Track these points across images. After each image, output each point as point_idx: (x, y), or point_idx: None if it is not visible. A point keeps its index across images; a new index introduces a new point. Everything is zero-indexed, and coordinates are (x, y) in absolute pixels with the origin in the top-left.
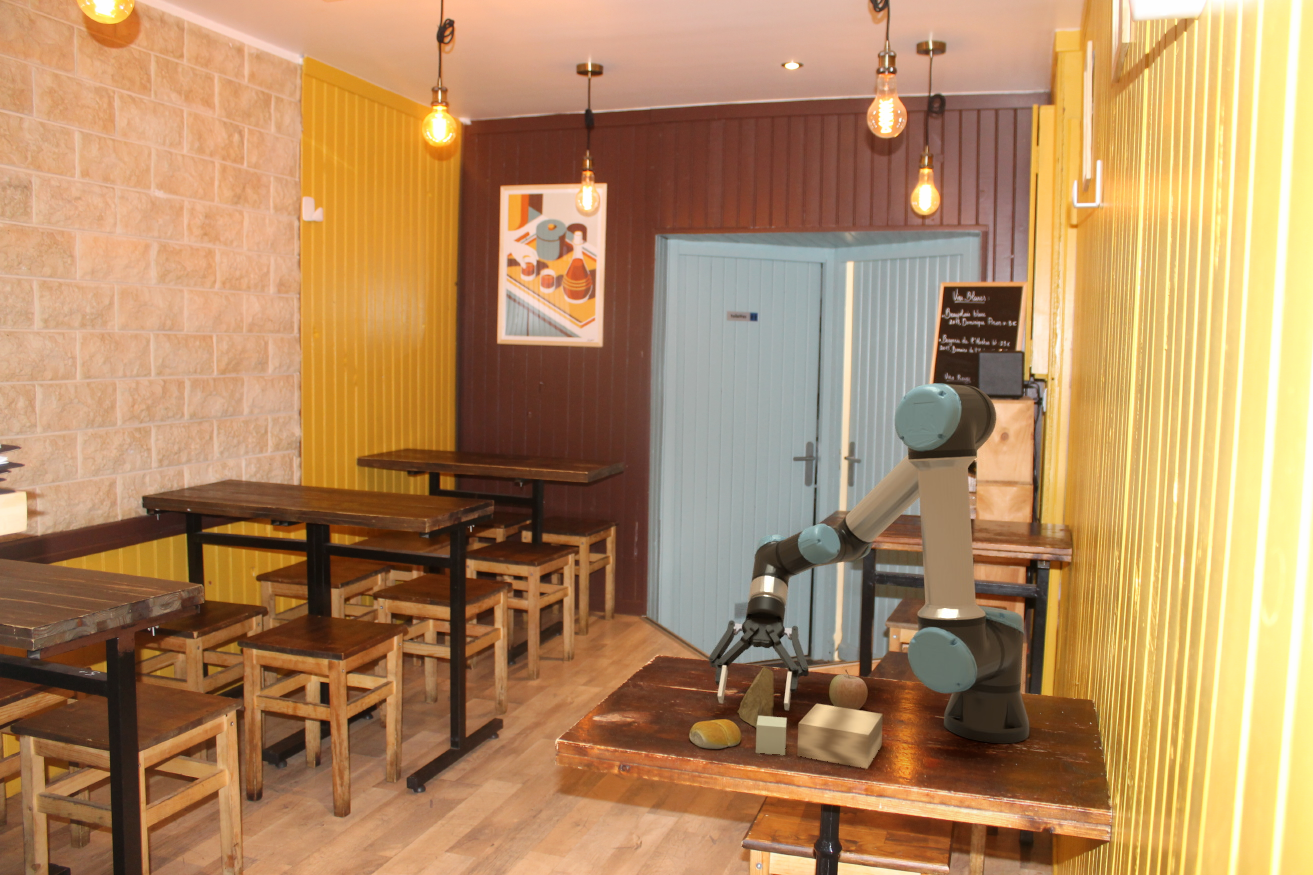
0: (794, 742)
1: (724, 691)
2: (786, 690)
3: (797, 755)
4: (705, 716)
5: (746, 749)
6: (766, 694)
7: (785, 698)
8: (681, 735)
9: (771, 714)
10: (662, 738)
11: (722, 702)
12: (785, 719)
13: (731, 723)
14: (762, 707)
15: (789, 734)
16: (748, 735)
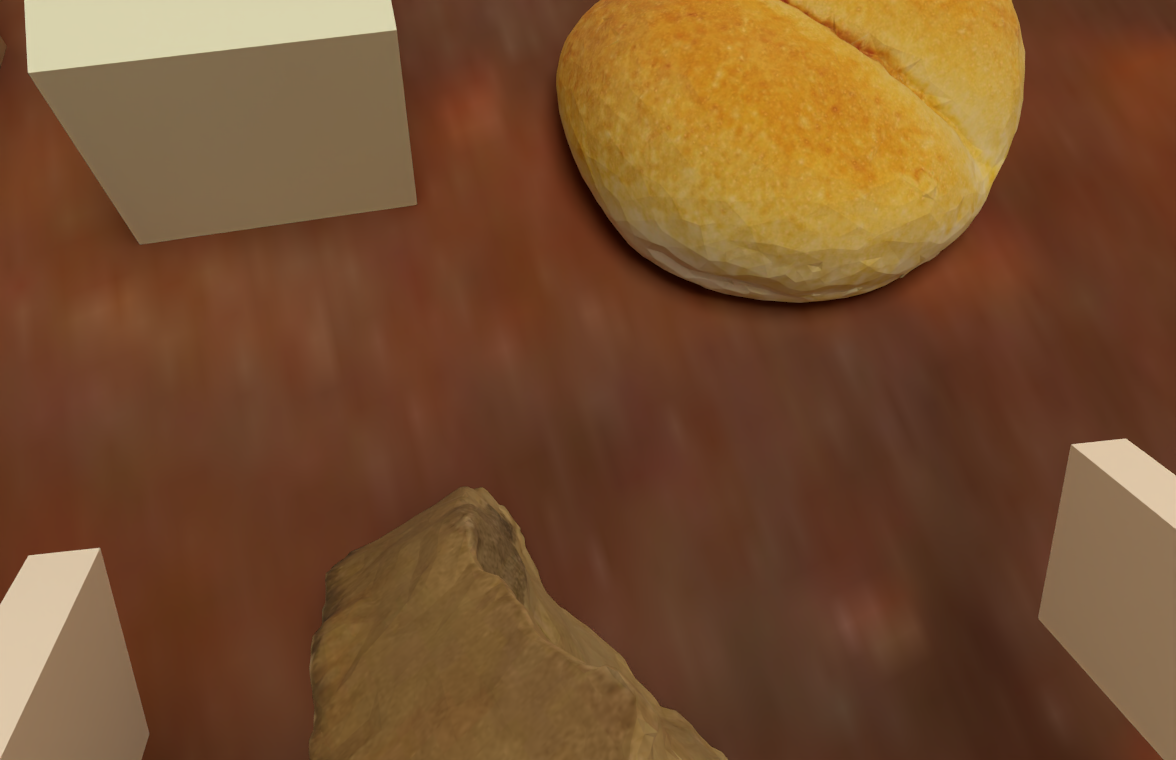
0: (56, 344)
1: (1149, 715)
2: (4, 708)
3: (4, 45)
4: None
5: (469, 32)
6: (427, 673)
7: (59, 595)
8: (1077, 129)
9: (338, 585)
10: (1165, 21)
11: (1043, 596)
12: (40, 22)
13: (679, 43)
14: (454, 518)
15: (132, 555)
16: (546, 350)
